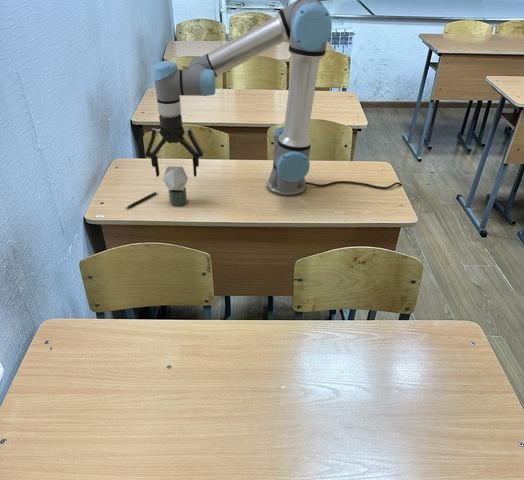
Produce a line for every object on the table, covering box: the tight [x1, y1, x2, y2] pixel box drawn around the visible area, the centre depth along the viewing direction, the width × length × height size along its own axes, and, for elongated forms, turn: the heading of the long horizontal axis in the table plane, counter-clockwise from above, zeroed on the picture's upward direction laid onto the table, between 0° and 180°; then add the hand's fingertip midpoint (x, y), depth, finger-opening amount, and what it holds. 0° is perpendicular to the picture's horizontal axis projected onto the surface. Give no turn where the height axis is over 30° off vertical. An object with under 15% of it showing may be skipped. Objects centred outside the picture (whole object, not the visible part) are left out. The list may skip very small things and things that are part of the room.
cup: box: [168, 187, 188, 207], centre depth 191 cm, size 6×6×6 cm
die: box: [162, 165, 189, 192], centre depth 186 cm, size 8×9×10 cm
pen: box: [126, 191, 158, 209], centre depth 192 cm, size 1×16×1 cm, turn 146°
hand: (176, 175), depth 185 cm, fingers open, 13 cm apart
